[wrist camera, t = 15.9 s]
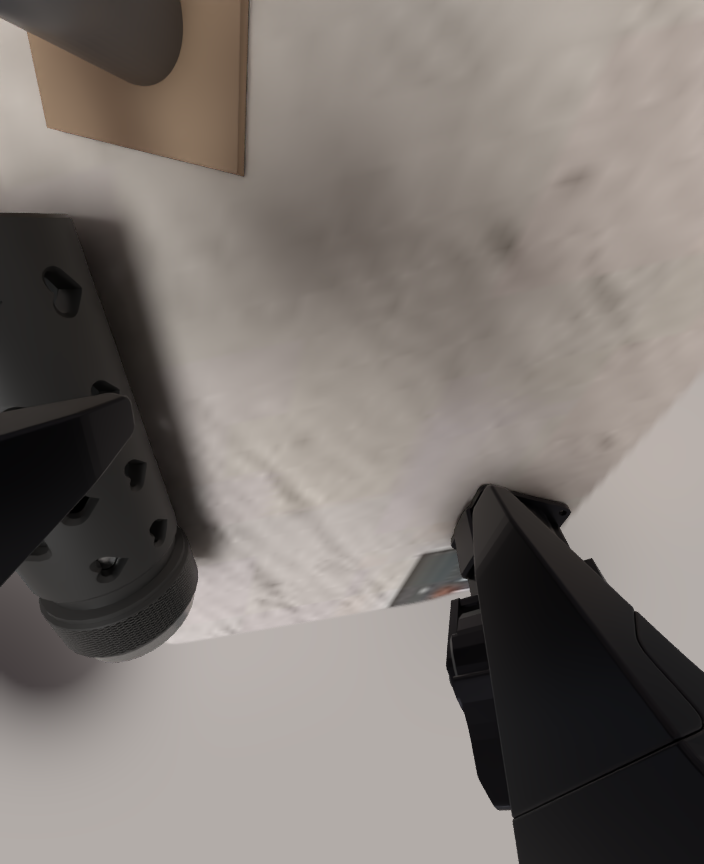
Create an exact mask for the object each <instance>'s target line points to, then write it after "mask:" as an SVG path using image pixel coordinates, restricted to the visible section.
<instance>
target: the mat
mask: <svg viewBox="0 0 704 864" xmlns="http://www.w3.org/2000/svg"><path fill="white" fill-rule="evenodd" d="M180 3H181V9H182V18H183V37H182V45H181V50H180V54H179V57H178V60H177V62H176V64H175V66H174V68H173V70H172V71H171V73H170V74H169V75H168V76H167V77H166V78H165V79H164V80H162V81H161V82H159V83H157V84H155V85H150V86H139V85H134V84H131V83H129V82H127V81H125V80H123V79H121V78H119V77H117V76H115V75H113V74H111V73H109V72H107V71H105V70H103V69H101V68H99V67H97V66H95V65H93V64H91V63H89V62H87V61H85V60H83V59H81V58H79V57H77V56H75V55H73V54H71V53H69V52H67V51H65V50H63V49H61V48H59V47H57V46H55V45H53V44H51V43H49V42H47V41H45V40H43V39H41V38H39V37H37V36H35V35H33V34H31V33H29V32H27V34H28V39H29V44H30V49H31V53H32V58H33V63H34V68H35V72H36V77H37V82H38V87H39V91H40V96H41V101H42V106H43V110H44V115H45V120H46V125H47V128H51V129H55V130H59V131H62V132H66V133H71V134H75V135H79V136H83V137H87V138H91V139H95V140H99V141H103V142H107V143H111V144H115V145H119V146H123V147H127V148H131V149H135V150H139V151H143V152H147V153H151V154H156V155H160V156H164V157H168V158H172V159H176V160H180V161H184V162H188V163H192V164H196V165H200V166H204V167H208V168H212V169H216V170H220V171H224V172H228V173H232V174H237V175H241V176H244V152H245V116H246V81H247V45H248V10H249V0H180Z"/></svg>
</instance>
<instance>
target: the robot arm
mask: <svg viewBox="0 0 704 864" xmlns="http://www.w3.org/2000/svg"><path fill="white" fill-rule="evenodd" d="M134 429H135V422H134V416H133V410H132V404H131V401H130V399H129V398H128V397H127V396H124V395H119V394H115V393H104V394H99V395H93V396H88V397H82V398H77V399H71V400H66V401H60V402H55V403H49V404H44V405H38V406H33V407H27V408H22V409H17V410H11V411H6V412H0V587H1V586H2V585H3V584H4V583H5V581H6V580H7V579H8V578H9V577H10V576H11V575H12V574H13V573H14V572H15V571H16V570H17V568H18V567H19V566H20V565H21V564H22V563H23V562H24V561H25V560H26V559H27V558H28V557H29V555H30V554H31V553H32V552H33V551H34V550H35V549H36V548H37V547H38V546H39V545H40V544H41V542H42V541H43V540H44V539H45V538H46V537H47V536H48V535H49V534H50V533H51V532H52V530H53V529H54V528H55V527H56V526H57V525H58V524H59V523H60V522H61V521H62V520H63V519H64V517H65V516H66V515H67V514H68V513H69V512H70V511H71V510H72V509H73V508H74V507H75V506H76V504H77V503H78V502H79V501H80V500H81V499H82V498H83V497H84V496H85V495H86V494H87V492H88V491H89V490H90V489H91V488H92V487H93V486H94V485H95V483H96V482H97V481H98V480H99V479H100V477H101V476H102V475H103V473H104V472H105V471H106V469H107V468H108V467H109V465H110V464H111V463H112V461H113V460H114V459H115V457H116V456H117V455H118V453H119V452H120V451H121V449H122V448H123V447H124V445H125V444H126V442H127V441H128V440H129V438H130V437H131V436H132V434H133V432H134ZM562 510H563V511H562ZM560 511H561V512H560ZM570 513H571V511H570V509H569V507H568V506H567V505H565V504H562V503H558V502H554V501H550V500H546V499H542V498H537V497H533V496H529V495H525V494H521V493H517V492H513V491H509V490H508V489H506V488H504V487H500V486H496V485H492V484H490V485H488V486H487V485H485V486H482V487H480V488H479V490H478V492H477V493H476V495H475V497H474V499H473V501H472V503H471V504H470V506H469V508H467V509H465V511H464V513H463V514H462V516H461V518H460V520H459V522H458V524H457V526H456V527H455V529H454V536H453V537H452V539H451V546H452V548H454V549H457V555H458V561H459V567H460V573H461V575H462V577H463V578H464V579H468V582H469V587H470V593H471V596H470V597H467V598H464V599H460V598H458V599H455V600H452V601H451V610H450V621H449V633H448V645H447V661H446V667H447V671H448V673H449V679H450V683H451V686H452V687H453V690H454V693H455V695H456V698H457V700H458V702H459V704H460V706H461V708H462V710H463V712H464V714H465V717H466V721H467V725H468V729H469V733H470V738H471V743H472V749H473V754H474V759H475V765H476V770H477V775H478V778H479V780H480V782H481V784H482V786H483V788H484V789H485V791H486V793H487V795H488V797H489V798H490V800H491V802H492V804H493V805H494V807H495V808H496V809H497V810H511V812H512V817H513V818H514V819H513V827H514V834H515V840H516V847H517V853H518V859H519V864H704V672H703V671H702V670H700V669H699V668H698V667H697V666H696V665H695V664H694V663H693V662H691V661H690V660H689V659H688V658H687V657H686V656H685V655H684V654H682V653H681V652H680V651H679V650H678V649H677V648H676V647H675V646H674V645H673V644H672V643H670V642H669V641H668V640H667V639H666V638H665V637H664V636H663V635H662V634H661V633H660V632H659V631H657V630H656V629H655V628H654V627H653V626H652V625H651V624H650V623H649V622H648V621H647V620H646V619H645V618H643V616H641V615H640V614H639V613H638V612H636V611H634V609H633V607H632V606H631V605H630V604H628V602H627V601H625V600H624V599H623V598H622V597H621V596H620V595H619V594H618V593H617V592H616V591H615V590H614V589H613V588H612V587H611V586H610V585H609V584H608V583H607V582H606V580H605V579H604V577H603V575H602V574H601V572H600V570H599V569H598V567H597V566H596V564H595V562H594V561H593V559H592V558H591V559H587V560H584V561H583V560H582V559H581V558H580V557H579V556H578V555H577V554H576V553H575V552H573V551H572V550H571V549H570V547H569V545H568V543H567V541H566V539H565V537H564V535H563V534H562V532H561V530H560V527H561V525H562V524H563V523H564V521H565V520H566V519H567V518H568V516H569V515H570Z"/></svg>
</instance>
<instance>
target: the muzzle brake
mask: <svg viewBox="0 0 704 864" xmlns="http://www.w3.org/2000/svg"><path fill="white" fill-rule="evenodd" d="M104 393H115V394H119V395H124V396H127V397H128V398H129V399H130V401H131V404H132V410H133V416H134V422H135V429H134V432H133V434H132V436H131V437H130V438H129V440H128V441H127V442H126V444H125V445H124V447H123V448H122V449H121V451H120V452H119V453H118V455H117V456H116V457H115V459H114V460H113V461H112V463H111V464H110V465H109V467H108V468H107V469H106V471H105V472H104V473H103V475H102V476H101V477H100V479H99V480H98V481H97V482H96V483H95V485H94V486H93V487H92V488H91V489H90V490H89V491H88V492H87V494H86V495H85V496H84V497H83V498H82V499H81V500H80V501H79V502H78V503H77V504H76V506H75V507H74V508H73V509H72V510H71V511H70V512H69V513H68V514H67V515H66V516H65V517H64V519H63V520H62V521H61V522H60V523H59V524H58V525H57V526H56V527H55V528H54V529H53V530H52V532H51V533H50V534H49V535H48V536H47V537H46V538H45V539H44V540H43V541H42V542H41V544H40V545H39V546H38V547H37V548H36V549H35V550H34V551H33V552H32V553H31V554H30V555H29V557H28V558H27V559H26V560H25V561H24V562H23V563H22V564H21V565H20V566H19V567H18V568H17V570H16V572H17V573H18V574H19V576H20V577H21V578H22V579H23V581H24V582H25V583H26V585H27V586H28V587H29V588H30V590H31V591H32V592H33V593H34V594H36V595H37V596H39V597H40V598H39V604H40V609H41V613H42V615H43V616H44V618H45V619H46V621H47V622H48V623H49V624H50V626H51V627H52V628H53V629H54V631H55V632H56V633H57V634H58V636H59V637H60V638H61V639H62V640H63V642H64V643H65V644H66V646H67V647H68V648H70V649H71V650H73V651H74V652H75V653H77V654H80V655H84V656H88V657H95V658H96V659H97V660H100V661H104V662H113V663H114V662H115V663H116V662H117V663H119V662H124V661H129V660H132V659H135V658H138V657H141V656H143V655H145V654H147V653H149V652H151V651H152V650H154V649H156V648H157V647H159V646H160V645H162V644H163V643H164V642H165V641H167V640H168V639H169V638H170V637H171V636H172V635H173V634H174V633H175V632H176V631H177V630H178V629H179V627H180V626H181V625H182V624H183V622H184V621H185V619H186V617H187V616H188V614H189V611H190V609H191V607H192V604H193V599H194V593H195V591H196V586H197V582H198V569H197V565H196V562H195V559H194V556H193V553H192V550H191V547H190V544H189V541H188V539H187V536H186V535H185V533H184V532H183V530H182V529H181V528H180V527H178V526H177V520H176V516H175V513H174V510H173V507H172V506H171V503H170V500H169V497H168V494H167V491H166V488H165V484H164V482H163V479H162V476H161V473H160V470H159V467H158V464H157V462H156V459H155V456H154V454H153V451H152V448H151V445H150V443H149V440H148V437H147V434H146V430H145V427H144V424H143V422H142V419H141V416H140V413H139V410H138V407H137V404H136V401H135V399H134V396H133V393H132V390H131V389H130V386H129V383H128V380H127V377H126V374H125V371H124V369H123V366H122V363H121V359H120V356H119V353H118V350H117V347H116V344H115V341H114V339H113V336H112V333H111V330H110V327H109V324H108V321H107V319H106V316H105V313H104V310H103V307H102V304H101V302H100V300H99V297H98V294H97V292H96V289H95V286H94V282H93V280H92V277H91V274H90V272H89V269H88V266H87V263H86V259H85V256H84V253H83V250H82V247H81V244H80V241H79V238H78V236H77V233H76V230H75V227H74V224H73V221H72V218H71V217H70V216H68V215H67V214H40V213H0V412H6V411H11V410H17V409H22V408H27V407H33V406H38V405H44V404H49V403H55V402H60V401H66V400H71V399H77V398H82V397H88V396H93V395H99V394H104Z"/></svg>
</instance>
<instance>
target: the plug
mask: <svg viewBox="0 0 704 864" xmlns="http://www.w3.org/2000/svg"><path fill="white" fill-rule="evenodd" d="M0 18H2V19H4V20H6V21H8V22H10V23H12V24H14V25H16V26H18V27H20V28H22V29H24V30H25V31H27V32H29V33H31V34H33V35H35V36H37V37H39V38H41V39H43V40H45V41H47V42H49V43H51V44H53V45H55V46H57V47H59V48H61V49H63V50H65V51H67V52H69V53H71V54H73V55H75V56H77V57H79V58H81V59H83V60H85V61H87V62H89V63H91V64H93V65H95V66H97V67H99V68H101V69H103V70H105V71H107V72H109V73H111V74H113V75H115V76H117V77H119V78H121V79H123V80H125V81H127V82H129V83H131V84H134V85H139V86H150V85H155V84H157V83H159V82H161V81H162V80H164V79H165V78H166V77H167V76H168V75H169V74H170V73H171V71H172V70H173V68H174V66H175V64H176V62H177V60H178V57H179V54H180V50H181V45H182V37H183V18H182V9H181V3H180V0H0Z"/></svg>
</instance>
